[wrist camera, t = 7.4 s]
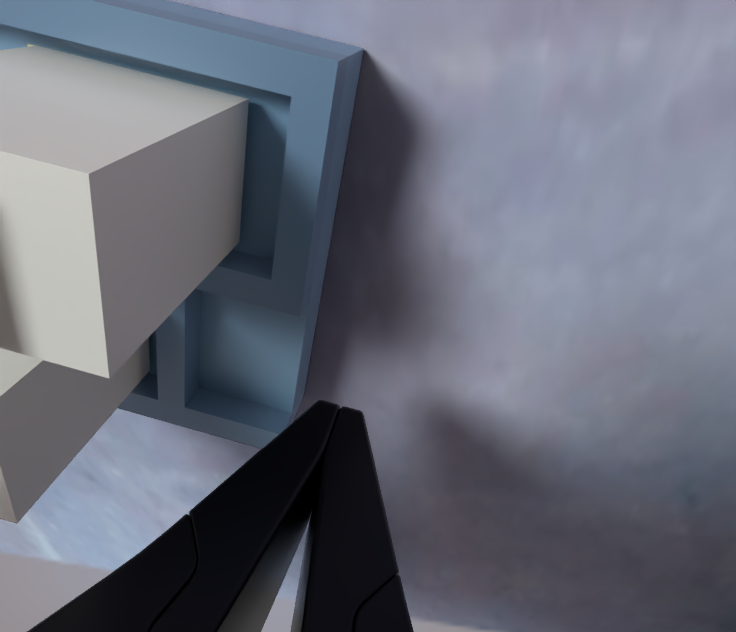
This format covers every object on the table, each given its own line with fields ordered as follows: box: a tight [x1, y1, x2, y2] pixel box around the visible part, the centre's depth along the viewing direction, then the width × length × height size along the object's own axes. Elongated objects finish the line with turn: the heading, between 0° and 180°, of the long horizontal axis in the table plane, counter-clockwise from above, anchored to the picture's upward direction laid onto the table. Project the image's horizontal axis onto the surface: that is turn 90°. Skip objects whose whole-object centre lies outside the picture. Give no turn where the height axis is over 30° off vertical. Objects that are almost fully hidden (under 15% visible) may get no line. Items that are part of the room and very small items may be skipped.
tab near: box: [0, 46, 249, 378], centre depth 7 cm, size 4×2×5 cm
